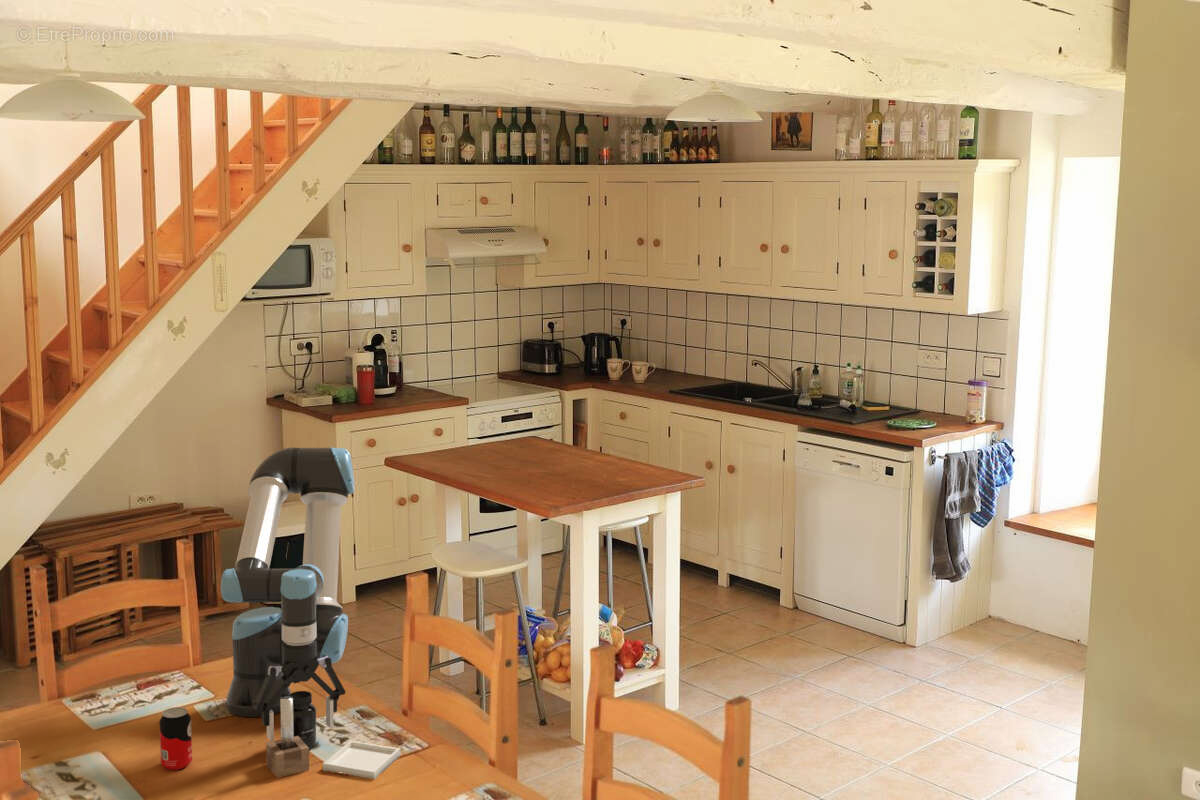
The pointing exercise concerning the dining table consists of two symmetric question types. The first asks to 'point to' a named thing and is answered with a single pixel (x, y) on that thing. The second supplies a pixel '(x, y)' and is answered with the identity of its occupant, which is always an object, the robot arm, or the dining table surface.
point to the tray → (362, 759)
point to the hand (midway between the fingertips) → (300, 732)
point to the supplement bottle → (304, 717)
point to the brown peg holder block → (287, 757)
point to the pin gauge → (287, 723)
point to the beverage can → (175, 738)
